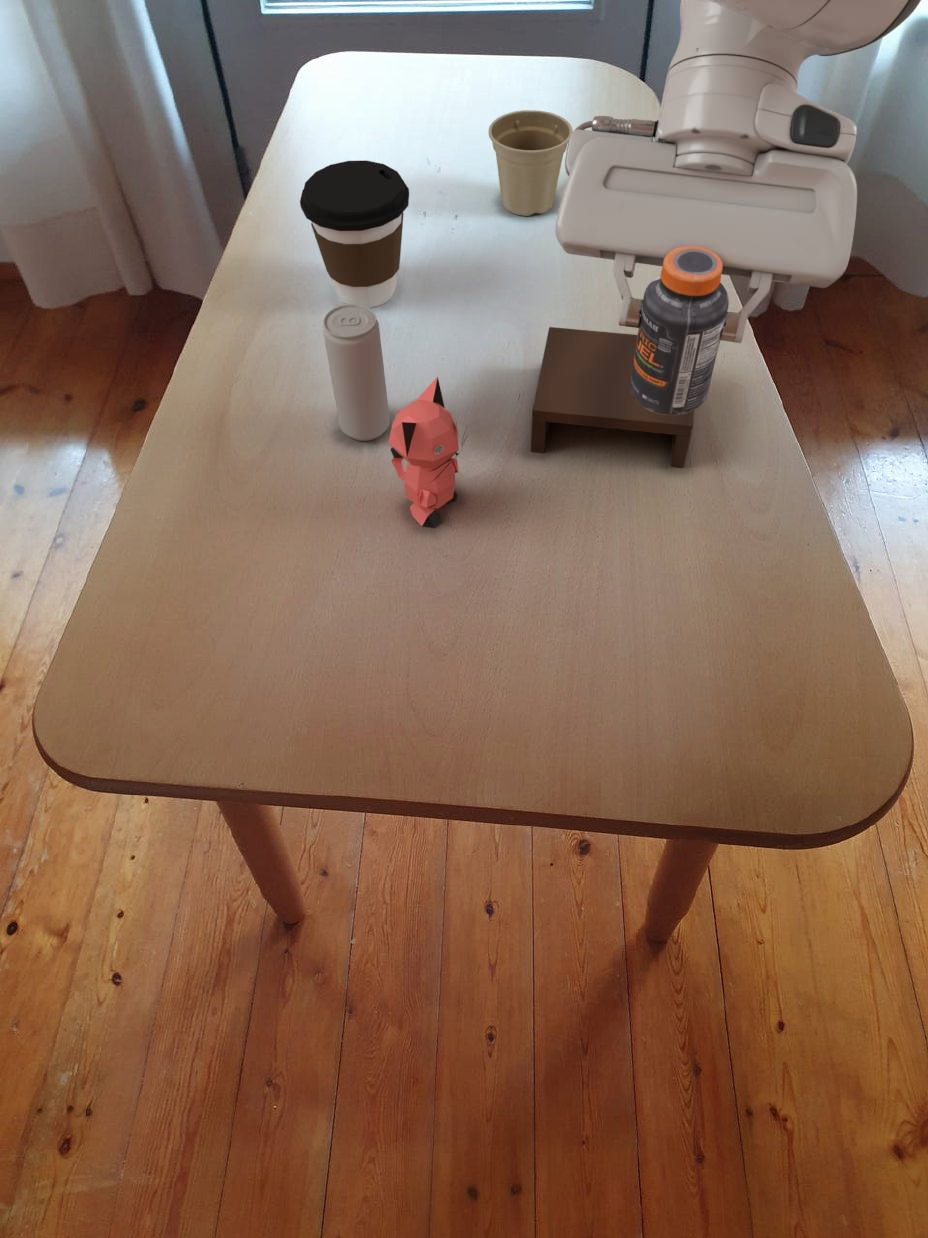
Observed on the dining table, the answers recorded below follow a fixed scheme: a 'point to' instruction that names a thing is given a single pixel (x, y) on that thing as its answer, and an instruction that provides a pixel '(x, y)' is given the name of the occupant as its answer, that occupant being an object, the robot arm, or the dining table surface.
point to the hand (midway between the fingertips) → (679, 333)
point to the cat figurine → (426, 454)
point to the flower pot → (529, 158)
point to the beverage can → (357, 371)
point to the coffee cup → (358, 227)
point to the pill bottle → (679, 332)
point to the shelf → (597, 389)
